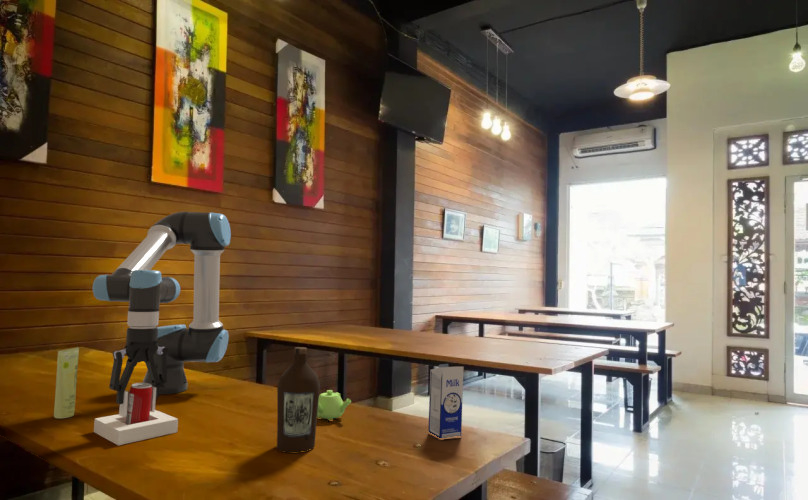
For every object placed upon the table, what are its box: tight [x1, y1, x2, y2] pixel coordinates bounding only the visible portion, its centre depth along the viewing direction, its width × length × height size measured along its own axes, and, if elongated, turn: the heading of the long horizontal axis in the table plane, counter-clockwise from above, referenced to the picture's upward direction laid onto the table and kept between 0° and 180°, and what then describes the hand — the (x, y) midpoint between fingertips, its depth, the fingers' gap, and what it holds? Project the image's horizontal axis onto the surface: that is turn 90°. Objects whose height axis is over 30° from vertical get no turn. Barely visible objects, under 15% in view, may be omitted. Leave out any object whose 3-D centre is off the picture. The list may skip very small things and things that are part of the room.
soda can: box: [126, 382, 152, 425], centre depth 135 cm, size 6×6×12 cm
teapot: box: [317, 389, 352, 421], centre depth 155 cm, size 11×12×8 cm
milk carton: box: [427, 363, 465, 438], centre depth 142 cm, size 7×7×20 cm
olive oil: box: [276, 346, 321, 453], centre depth 128 cm, size 11×11×25 cm
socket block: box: [93, 409, 179, 446], centre depth 135 cm, size 15×15×4 cm
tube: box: [53, 346, 80, 419], centre depth 146 cm, size 6×5×20 cm
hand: (137, 413), depth 135 cm, fingers open, 7 cm apart
